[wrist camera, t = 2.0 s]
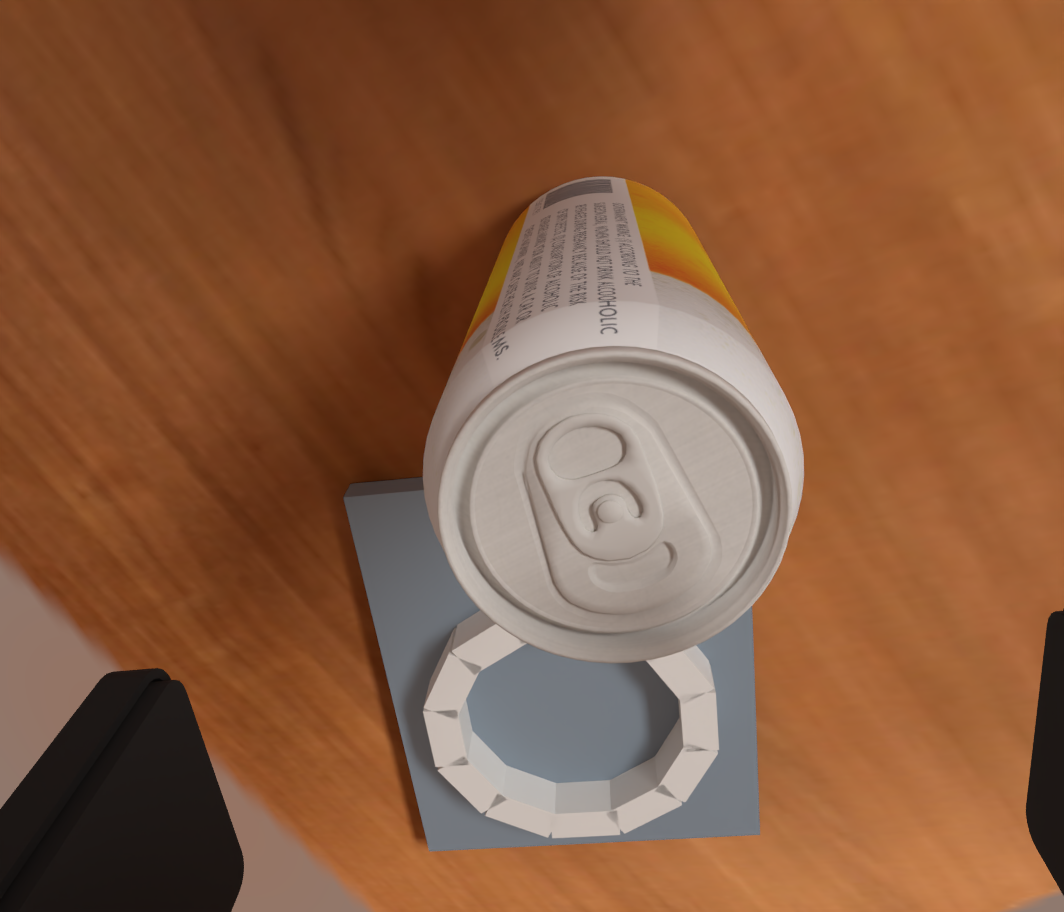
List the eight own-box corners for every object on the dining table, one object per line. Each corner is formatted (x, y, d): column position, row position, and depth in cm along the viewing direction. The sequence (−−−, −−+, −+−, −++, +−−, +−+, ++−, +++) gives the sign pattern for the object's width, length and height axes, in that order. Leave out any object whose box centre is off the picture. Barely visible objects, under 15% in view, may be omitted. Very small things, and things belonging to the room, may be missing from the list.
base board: (350, 483, 30) (331, 519, 28) (741, 446, 29) (755, 481, 27) (433, 831, 37) (423, 883, 35) (755, 814, 36) (767, 867, 33)
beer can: (542, 399, 29) (503, 723, 15) (466, 219, 27) (341, 410, 13) (727, 334, 28) (864, 623, 14) (664, 139, 25) (753, 257, 12)
